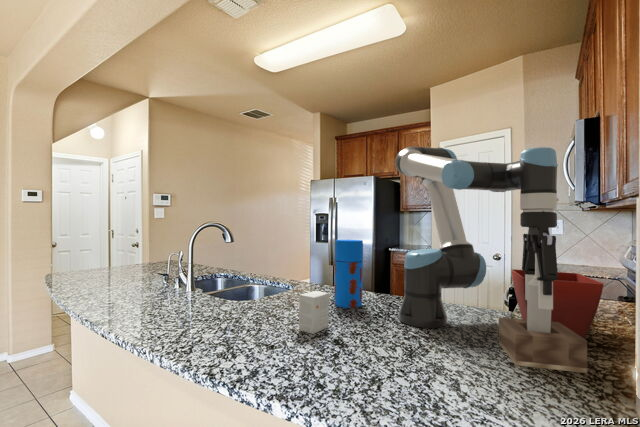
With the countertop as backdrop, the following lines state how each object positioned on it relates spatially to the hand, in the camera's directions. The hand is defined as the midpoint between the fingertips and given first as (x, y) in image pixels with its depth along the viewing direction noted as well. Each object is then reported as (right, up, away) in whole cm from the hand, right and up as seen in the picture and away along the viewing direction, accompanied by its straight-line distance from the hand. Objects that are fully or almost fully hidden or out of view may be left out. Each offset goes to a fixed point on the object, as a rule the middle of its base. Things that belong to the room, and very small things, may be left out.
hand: (538, 304), depth 81 cm
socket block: (0, -13, 0) cm, 13 cm away
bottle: (0, -12, 0) cm, 12 cm away
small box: (-55, -13, +18) cm, 60 cm away
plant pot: (+17, -14, +20) cm, 30 cm away
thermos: (-42, -13, +48) cm, 65 cm away
